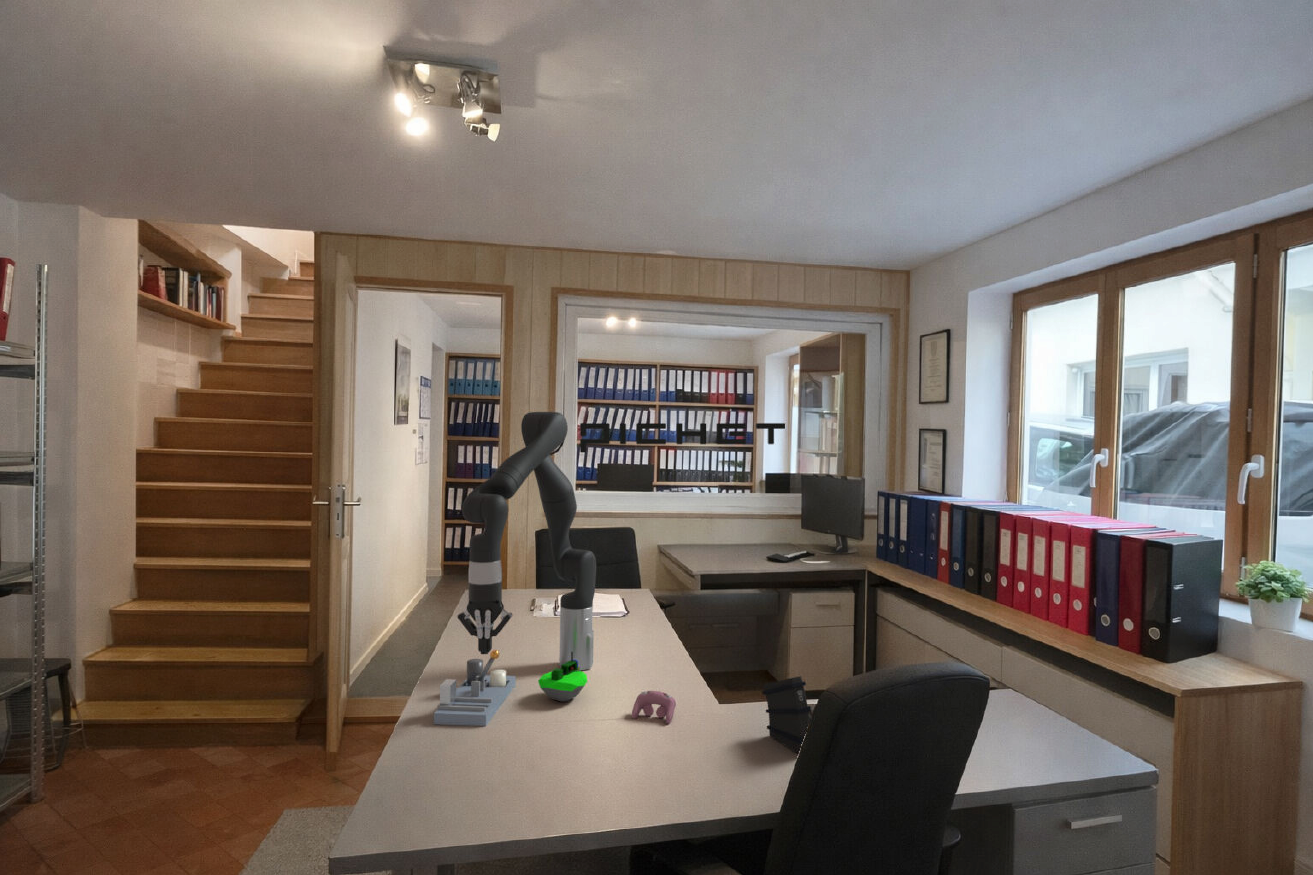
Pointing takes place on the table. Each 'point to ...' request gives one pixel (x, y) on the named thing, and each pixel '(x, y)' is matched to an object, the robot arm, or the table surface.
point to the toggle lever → (488, 665)
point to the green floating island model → (563, 681)
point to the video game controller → (654, 697)
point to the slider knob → (448, 692)
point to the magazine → (787, 711)
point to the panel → (474, 703)
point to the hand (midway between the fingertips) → (485, 653)
